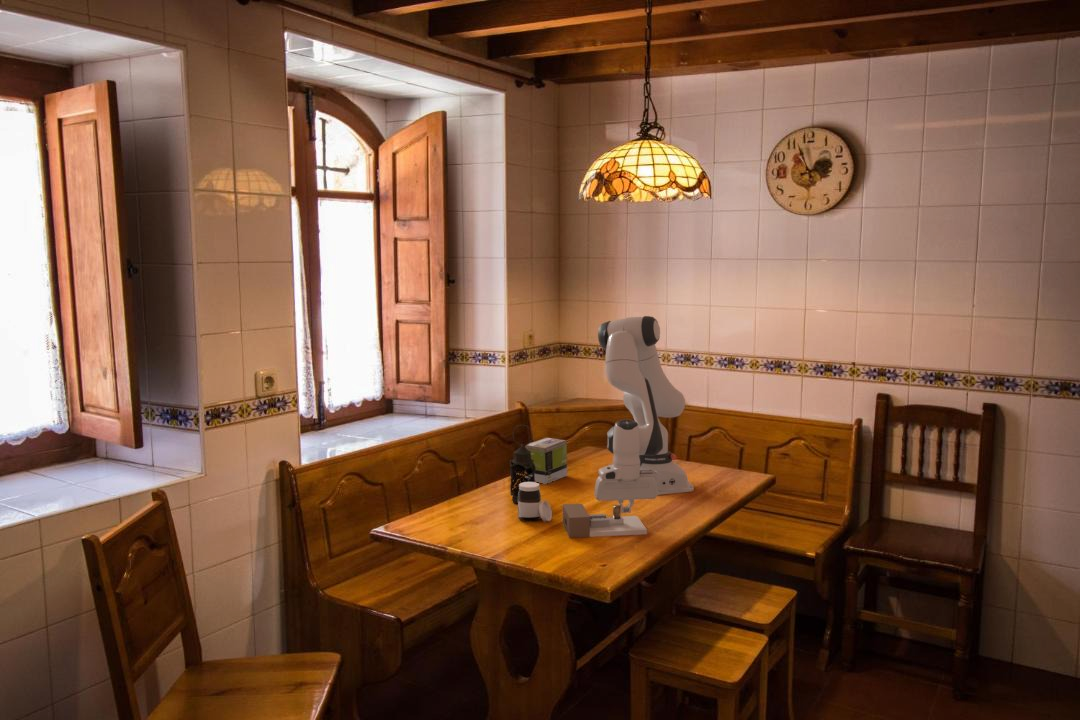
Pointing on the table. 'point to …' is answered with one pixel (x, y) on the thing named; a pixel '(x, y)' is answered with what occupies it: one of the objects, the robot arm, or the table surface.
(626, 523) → the door plate
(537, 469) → the tea box
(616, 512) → the bolt
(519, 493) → the spread jar
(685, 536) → the table surface
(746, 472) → the table surface
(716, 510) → the table surface
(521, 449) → the lantern
